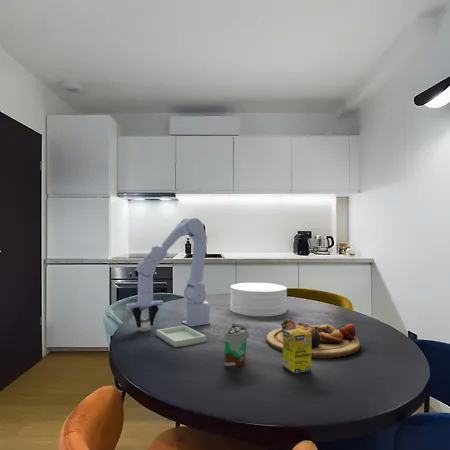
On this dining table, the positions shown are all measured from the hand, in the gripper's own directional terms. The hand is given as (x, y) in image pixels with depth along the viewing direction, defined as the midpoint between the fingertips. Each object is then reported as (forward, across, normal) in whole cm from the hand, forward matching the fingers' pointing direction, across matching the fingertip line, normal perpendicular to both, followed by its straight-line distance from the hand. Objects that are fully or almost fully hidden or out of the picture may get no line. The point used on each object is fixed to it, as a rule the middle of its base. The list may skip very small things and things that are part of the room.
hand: (144, 326), depth 137 cm
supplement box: (+2, -22, +60) cm, 64 cm away
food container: (+2, -11, +47) cm, 48 cm away
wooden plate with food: (+2, -44, +45) cm, 63 cm away
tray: (+1, -7, +17) cm, 18 cm away
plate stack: (+2, -61, -5) cm, 61 cm away
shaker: (+1, 0, 0) cm, 1 cm away
